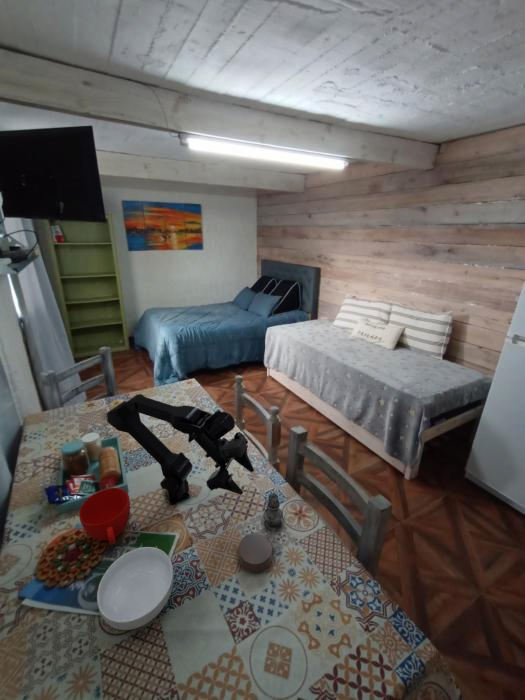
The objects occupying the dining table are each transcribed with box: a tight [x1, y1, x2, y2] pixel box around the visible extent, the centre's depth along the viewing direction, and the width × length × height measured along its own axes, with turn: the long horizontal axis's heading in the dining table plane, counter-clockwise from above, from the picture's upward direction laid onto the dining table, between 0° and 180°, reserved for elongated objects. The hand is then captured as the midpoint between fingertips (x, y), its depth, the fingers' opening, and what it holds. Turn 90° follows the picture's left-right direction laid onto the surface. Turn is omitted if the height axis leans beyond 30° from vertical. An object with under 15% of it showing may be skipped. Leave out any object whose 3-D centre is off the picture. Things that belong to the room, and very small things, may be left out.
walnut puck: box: [238, 532, 273, 574], centre depth 86 cm, size 9×9×4 cm
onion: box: [108, 398, 125, 411], centre depth 152 cm, size 8×8×7 cm
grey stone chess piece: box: [263, 492, 284, 532], centre depth 94 cm, size 6×6×12 cm
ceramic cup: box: [78, 487, 131, 545], centre depth 90 cm, size 13×17×10 cm
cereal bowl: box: [96, 546, 175, 631], centre depth 75 cm, size 17×17×7 cm
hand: (247, 482), depth 93 cm, fingers open, 9 cm apart
